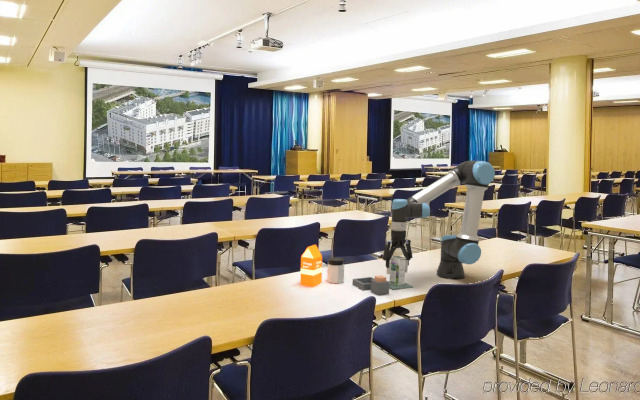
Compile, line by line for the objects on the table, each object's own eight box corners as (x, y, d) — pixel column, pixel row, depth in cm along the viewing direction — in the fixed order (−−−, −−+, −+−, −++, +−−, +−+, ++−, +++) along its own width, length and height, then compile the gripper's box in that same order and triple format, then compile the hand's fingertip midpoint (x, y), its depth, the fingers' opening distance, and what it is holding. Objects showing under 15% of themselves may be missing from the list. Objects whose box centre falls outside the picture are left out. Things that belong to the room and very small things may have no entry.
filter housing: (370, 282, 252) (371, 271, 252) (393, 293, 234) (393, 281, 233) (352, 284, 248) (352, 273, 247) (373, 295, 229) (373, 283, 229)
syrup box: (388, 283, 249) (389, 256, 247) (397, 282, 252) (398, 254, 250) (396, 286, 244) (397, 258, 242) (405, 284, 247) (406, 257, 246)
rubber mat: (399, 281, 256) (399, 280, 256) (413, 287, 245) (413, 286, 245) (380, 283, 251) (380, 282, 251) (393, 289, 240) (393, 288, 240)
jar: (324, 282, 250) (325, 259, 249) (329, 278, 258) (329, 256, 257) (341, 284, 248) (342, 261, 247) (345, 280, 256) (346, 258, 254)
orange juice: (321, 283, 249) (322, 245, 247) (313, 287, 241) (314, 247, 239) (308, 281, 253) (309, 243, 251) (300, 285, 245) (300, 246, 243)
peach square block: (381, 283, 237) (381, 275, 236) (385, 285, 233) (386, 277, 233) (374, 284, 235) (374, 276, 234) (378, 286, 231) (379, 278, 231)
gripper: (384, 232, 237) (382, 276, 239) (421, 229, 246) (419, 272, 249) (376, 229, 244) (374, 273, 246) (412, 227, 253) (410, 269, 255)
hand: (397, 272), depth 247 cm, fingers open, 9 cm apart
